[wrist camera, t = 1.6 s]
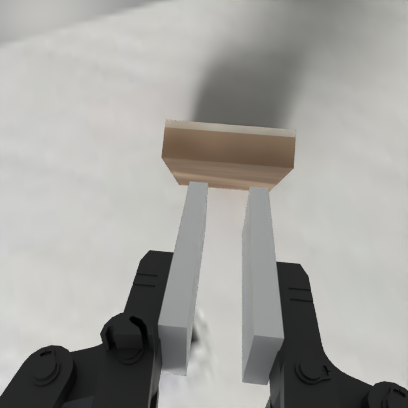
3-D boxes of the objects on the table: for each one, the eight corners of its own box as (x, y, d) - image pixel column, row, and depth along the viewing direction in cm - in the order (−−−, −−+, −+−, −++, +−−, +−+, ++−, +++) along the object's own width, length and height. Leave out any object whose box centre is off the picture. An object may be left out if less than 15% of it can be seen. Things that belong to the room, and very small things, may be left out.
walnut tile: (181, 158, 37) (165, 119, 25) (270, 166, 37) (296, 129, 25) (179, 184, 37) (161, 157, 25) (268, 192, 36) (293, 168, 24)
